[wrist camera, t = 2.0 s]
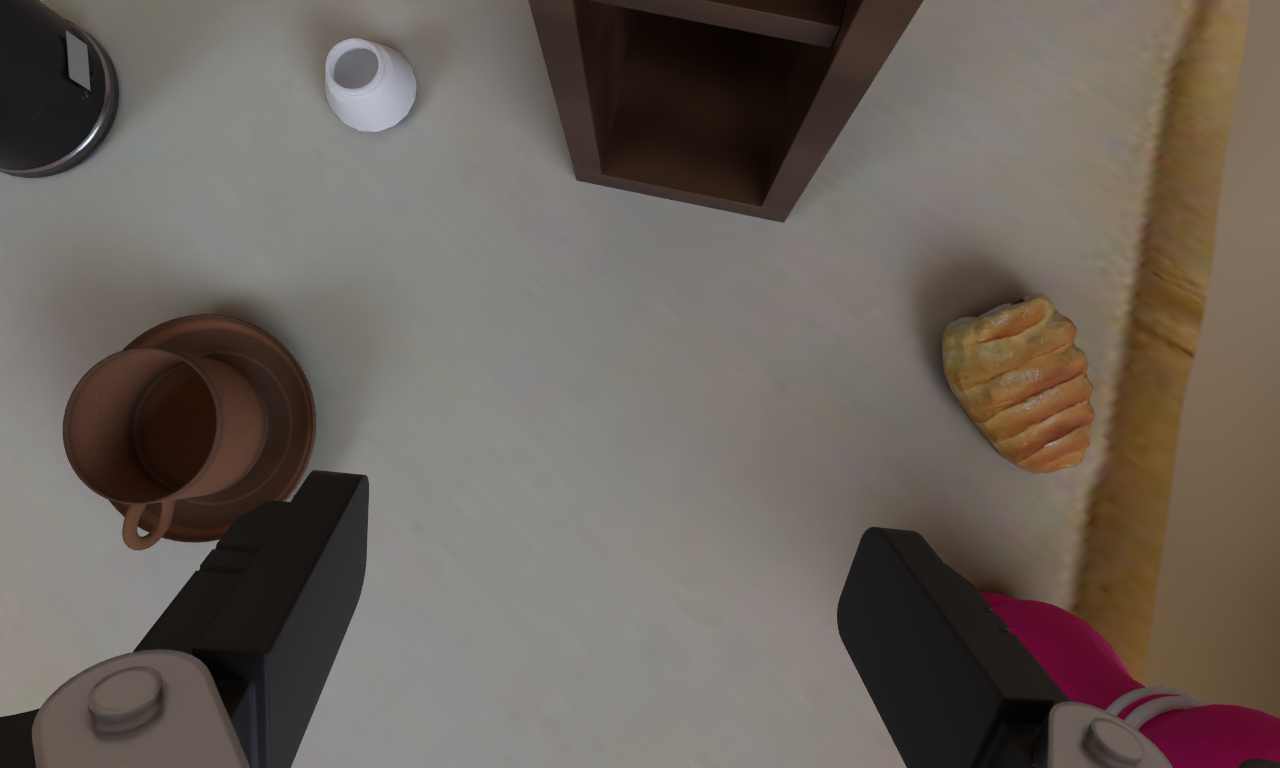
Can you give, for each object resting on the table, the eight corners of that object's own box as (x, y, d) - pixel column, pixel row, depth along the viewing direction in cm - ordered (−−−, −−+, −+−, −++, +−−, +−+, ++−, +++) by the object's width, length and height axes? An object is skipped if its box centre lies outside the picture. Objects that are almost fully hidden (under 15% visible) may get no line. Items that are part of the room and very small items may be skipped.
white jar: (347, 146, 39) (430, 117, 39) (323, 122, 36) (412, 91, 36) (321, 68, 39) (402, 39, 40) (294, 38, 36) (383, 7, 37)
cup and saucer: (338, 523, 37) (278, 540, 31) (121, 549, 37) (17, 571, 31) (321, 308, 38) (258, 283, 32) (109, 334, 38) (6, 313, 32)
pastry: (1103, 444, 37) (1154, 445, 33) (990, 492, 37) (1029, 499, 33) (1028, 288, 38) (1070, 272, 34) (918, 335, 38) (947, 324, 34)
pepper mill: (969, 748, 36) (1371, 1131, 16) (893, 629, 37) (1190, 856, 17) (1082, 674, 36) (1615, 959, 16) (1005, 556, 37) (1429, 694, 17)
